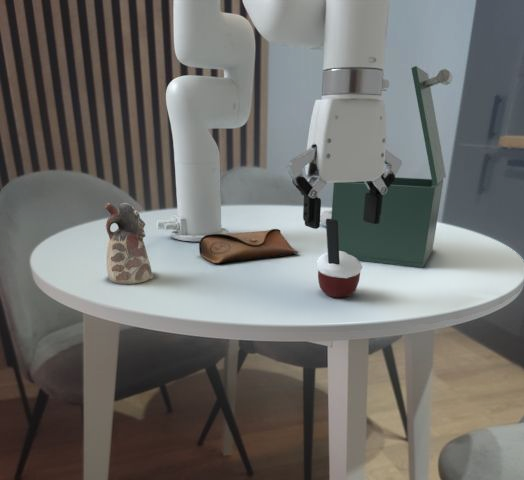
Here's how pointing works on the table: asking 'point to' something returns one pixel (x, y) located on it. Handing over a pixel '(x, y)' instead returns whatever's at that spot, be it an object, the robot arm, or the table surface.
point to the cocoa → (337, 266)
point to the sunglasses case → (244, 246)
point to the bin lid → (430, 118)
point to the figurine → (126, 246)
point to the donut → (325, 217)
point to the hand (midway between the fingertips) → (342, 224)
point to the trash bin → (389, 221)
